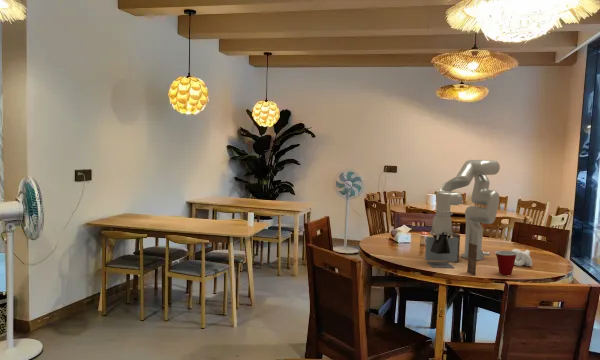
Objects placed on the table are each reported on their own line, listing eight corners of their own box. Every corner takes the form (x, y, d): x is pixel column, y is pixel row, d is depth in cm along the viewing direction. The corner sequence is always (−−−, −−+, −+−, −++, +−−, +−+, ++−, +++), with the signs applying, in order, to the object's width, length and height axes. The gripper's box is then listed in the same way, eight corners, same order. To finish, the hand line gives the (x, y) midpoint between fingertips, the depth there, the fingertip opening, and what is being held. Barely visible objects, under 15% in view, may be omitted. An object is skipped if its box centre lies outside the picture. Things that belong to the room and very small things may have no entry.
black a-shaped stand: (437, 253, 243) (438, 232, 242) (430, 251, 248) (431, 230, 248) (450, 253, 246) (451, 232, 245) (443, 251, 251) (444, 230, 251)
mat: (447, 263, 253) (447, 262, 253) (454, 268, 241) (454, 267, 241) (426, 262, 253) (426, 261, 253) (432, 267, 241) (432, 266, 241)
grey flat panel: (457, 261, 254) (458, 238, 253) (425, 260, 254) (426, 236, 253) (455, 260, 256) (457, 237, 255) (424, 259, 256) (425, 236, 255)
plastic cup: (493, 270, 240) (494, 248, 239) (515, 273, 236) (516, 250, 235) (494, 275, 230) (495, 252, 229) (517, 278, 226) (518, 255, 225)
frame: (454, 259, 263) (455, 232, 262) (475, 275, 228) (477, 244, 227) (450, 259, 263) (452, 232, 262) (471, 275, 228) (473, 244, 227)
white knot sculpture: (512, 261, 262) (513, 246, 262) (535, 265, 255) (536, 250, 254) (507, 265, 254) (508, 249, 253) (530, 269, 246) (531, 253, 245)
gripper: (455, 214, 249) (453, 246, 250) (426, 212, 250) (424, 244, 251) (459, 215, 242) (457, 248, 243) (429, 214, 242) (427, 247, 243)
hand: (440, 246), depth 247 cm, fingers closed on black a-shaped stand, 3 cm apart
